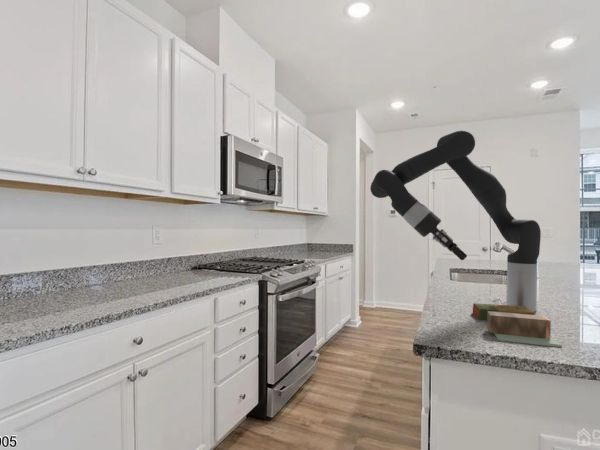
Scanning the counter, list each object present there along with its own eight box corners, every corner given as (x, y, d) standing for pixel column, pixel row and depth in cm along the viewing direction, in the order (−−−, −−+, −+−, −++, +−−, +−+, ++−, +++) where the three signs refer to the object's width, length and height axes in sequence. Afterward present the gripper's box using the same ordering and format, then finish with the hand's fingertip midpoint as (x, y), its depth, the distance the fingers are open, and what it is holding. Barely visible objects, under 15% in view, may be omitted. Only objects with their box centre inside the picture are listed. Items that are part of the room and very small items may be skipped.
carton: (535, 325, 105) (535, 311, 105) (478, 321, 109) (479, 308, 109) (524, 318, 113) (524, 305, 113) (472, 314, 117) (472, 302, 117)
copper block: (490, 315, 93) (550, 320, 89) (487, 311, 98) (544, 315, 93) (490, 333, 93) (550, 339, 89) (487, 328, 98) (543, 333, 93)
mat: (498, 340, 89) (498, 338, 89) (489, 326, 102) (489, 324, 102) (561, 347, 85) (561, 344, 85) (543, 332, 97) (543, 330, 97)
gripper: (430, 209, 99) (477, 251, 95) (429, 210, 111) (471, 248, 107) (412, 227, 101) (457, 269, 97) (412, 227, 113) (453, 264, 109)
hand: (464, 258), depth 102 cm, fingers closed
